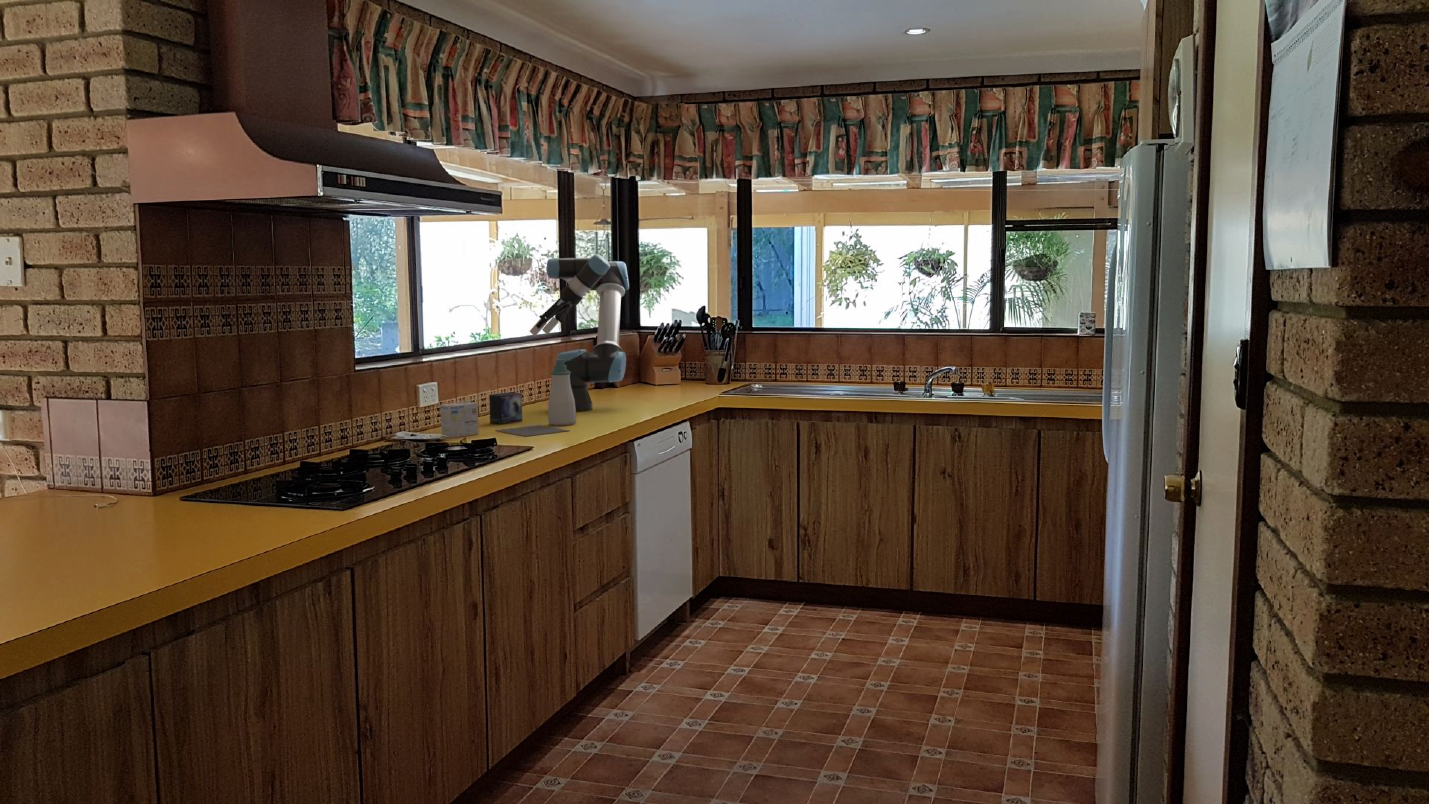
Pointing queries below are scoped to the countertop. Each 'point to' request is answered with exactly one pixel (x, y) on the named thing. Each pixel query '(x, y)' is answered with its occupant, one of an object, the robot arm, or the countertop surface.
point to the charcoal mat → (532, 430)
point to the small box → (505, 408)
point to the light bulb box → (459, 419)
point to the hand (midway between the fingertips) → (538, 333)
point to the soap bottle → (561, 397)
